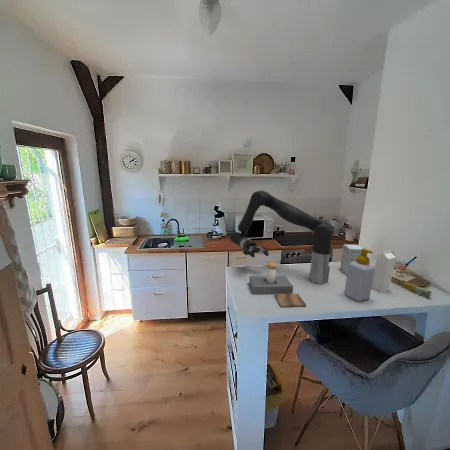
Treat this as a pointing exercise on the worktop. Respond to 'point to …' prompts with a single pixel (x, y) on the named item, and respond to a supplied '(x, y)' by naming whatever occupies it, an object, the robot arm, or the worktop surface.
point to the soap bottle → (360, 277)
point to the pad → (289, 300)
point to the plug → (271, 272)
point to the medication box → (417, 290)
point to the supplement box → (349, 256)
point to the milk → (383, 271)
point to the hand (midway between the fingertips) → (261, 255)
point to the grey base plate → (270, 285)
